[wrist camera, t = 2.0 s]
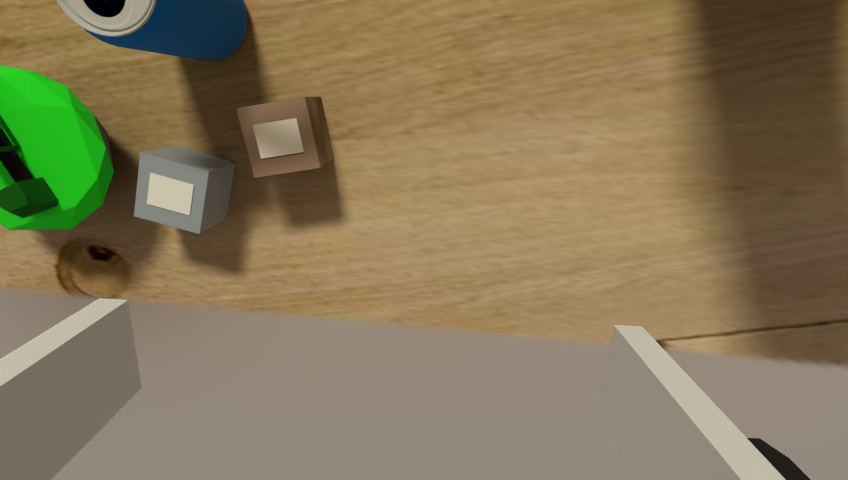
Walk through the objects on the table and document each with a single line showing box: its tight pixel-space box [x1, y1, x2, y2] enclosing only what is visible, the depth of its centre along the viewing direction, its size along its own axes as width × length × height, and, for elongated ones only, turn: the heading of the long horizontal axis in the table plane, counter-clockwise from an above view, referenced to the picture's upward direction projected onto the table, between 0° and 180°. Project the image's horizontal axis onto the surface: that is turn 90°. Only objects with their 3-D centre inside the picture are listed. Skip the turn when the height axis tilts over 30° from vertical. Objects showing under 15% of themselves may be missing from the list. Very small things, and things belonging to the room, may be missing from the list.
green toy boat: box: [0, 66, 114, 230], centre depth 33 cm, size 12×12×11 cm
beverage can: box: [56, 0, 247, 61], centre depth 29 cm, size 6×6×12 cm
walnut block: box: [236, 97, 334, 178], centre depth 35 cm, size 5×5×5 cm
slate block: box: [134, 146, 236, 234], centre depth 36 cm, size 5×5×5 cm
